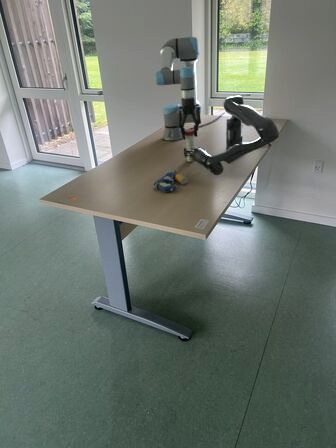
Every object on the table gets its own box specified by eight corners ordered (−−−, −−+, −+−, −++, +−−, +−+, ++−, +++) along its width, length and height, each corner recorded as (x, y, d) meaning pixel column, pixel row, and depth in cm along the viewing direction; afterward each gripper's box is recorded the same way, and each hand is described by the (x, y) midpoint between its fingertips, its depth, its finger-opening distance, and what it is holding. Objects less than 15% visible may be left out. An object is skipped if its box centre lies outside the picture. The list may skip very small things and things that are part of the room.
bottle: (190, 162, 204) (189, 133, 195) (185, 160, 207) (184, 132, 198) (196, 160, 206) (195, 132, 197) (191, 158, 209) (190, 130, 200)
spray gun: (192, 178, 182) (167, 175, 189) (191, 170, 180) (167, 168, 186) (176, 195, 167) (150, 192, 173) (175, 187, 165) (149, 184, 171)
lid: (195, 133, 199) (195, 129, 197) (191, 136, 195) (190, 132, 194) (188, 132, 202) (188, 128, 200) (183, 135, 198) (183, 131, 197)
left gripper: (200, 93, 194) (201, 133, 206) (168, 99, 187) (171, 139, 199) (207, 95, 188) (207, 135, 200) (174, 101, 181) (177, 142, 193)
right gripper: (190, 165, 192) (178, 156, 205) (212, 160, 196) (199, 152, 209) (189, 153, 188) (177, 145, 202) (212, 148, 192) (198, 140, 206)
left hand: (189, 137), depth 199 cm, fingers open, 7 cm apart
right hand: (188, 148), depth 205 cm, fingers closed on bottle, 4 cm apart
